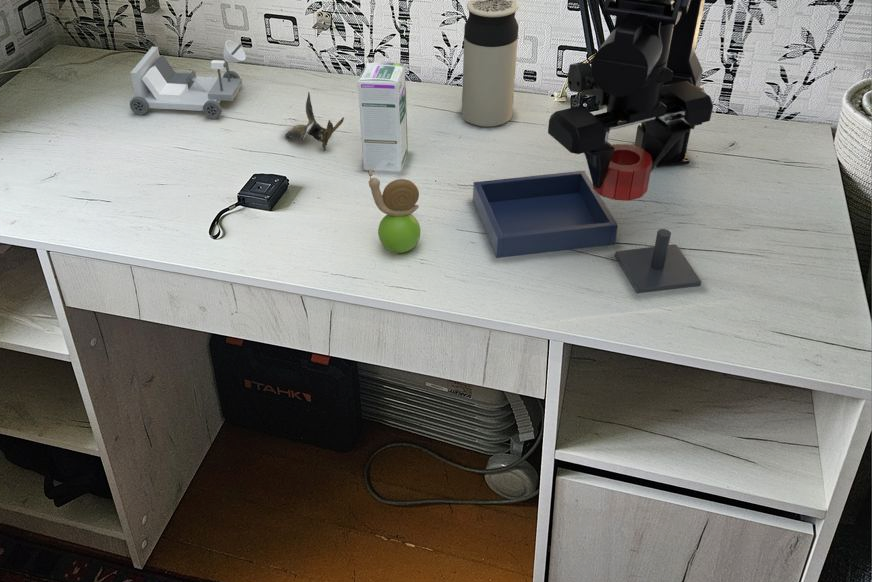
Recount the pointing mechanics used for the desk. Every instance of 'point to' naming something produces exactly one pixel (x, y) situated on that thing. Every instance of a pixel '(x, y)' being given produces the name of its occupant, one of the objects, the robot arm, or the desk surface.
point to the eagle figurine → (313, 127)
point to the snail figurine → (397, 213)
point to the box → (543, 214)
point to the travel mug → (489, 62)
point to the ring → (626, 173)
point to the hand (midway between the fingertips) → (620, 180)
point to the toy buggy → (184, 84)
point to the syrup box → (383, 116)
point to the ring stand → (657, 266)
